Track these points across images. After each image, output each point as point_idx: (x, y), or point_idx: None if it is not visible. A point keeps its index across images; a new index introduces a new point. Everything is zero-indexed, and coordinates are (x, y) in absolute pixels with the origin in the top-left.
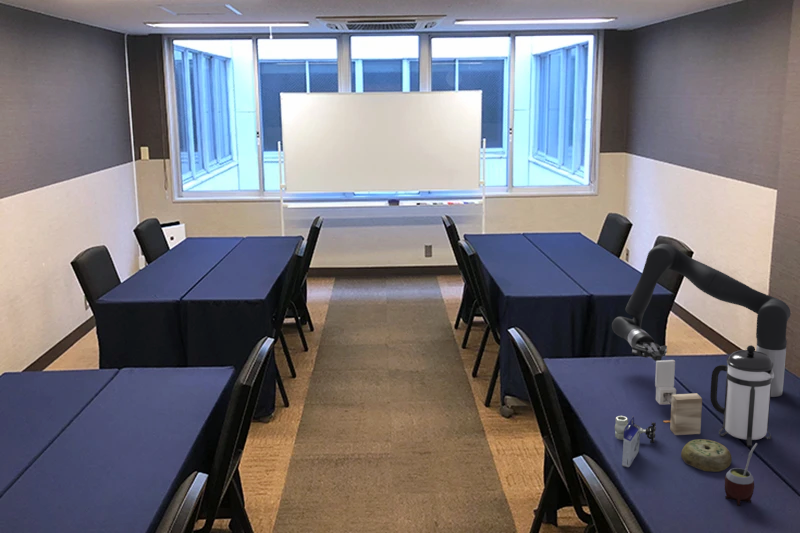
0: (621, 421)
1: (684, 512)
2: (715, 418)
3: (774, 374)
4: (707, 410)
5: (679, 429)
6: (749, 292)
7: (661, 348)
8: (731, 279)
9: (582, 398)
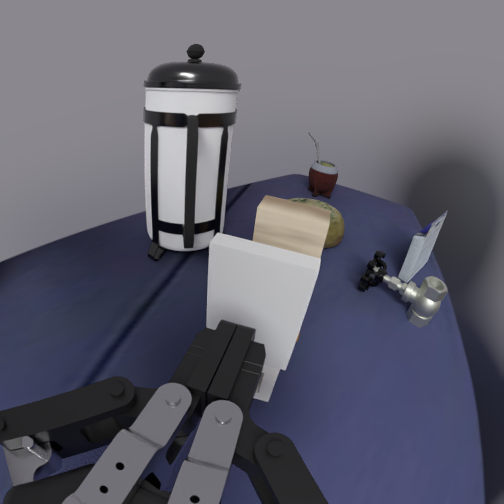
0: (436, 280)
1: (378, 204)
2: (159, 299)
3: None
4: (132, 332)
5: None
6: None
7: (78, 412)
8: None
9: None
